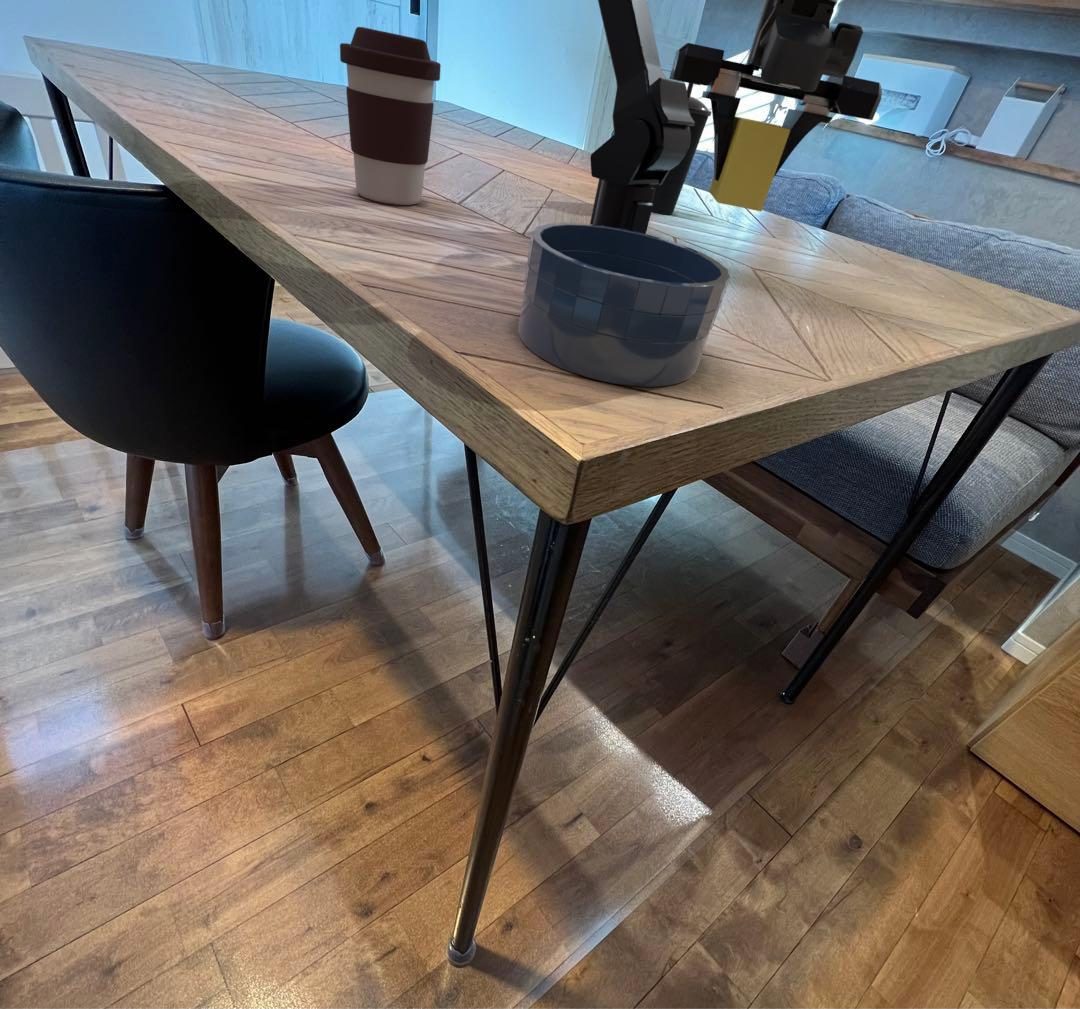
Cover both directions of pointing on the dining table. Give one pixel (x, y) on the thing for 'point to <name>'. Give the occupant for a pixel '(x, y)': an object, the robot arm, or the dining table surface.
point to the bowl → (618, 303)
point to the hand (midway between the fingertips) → (739, 184)
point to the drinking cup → (675, 179)
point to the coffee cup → (389, 113)
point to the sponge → (749, 163)
